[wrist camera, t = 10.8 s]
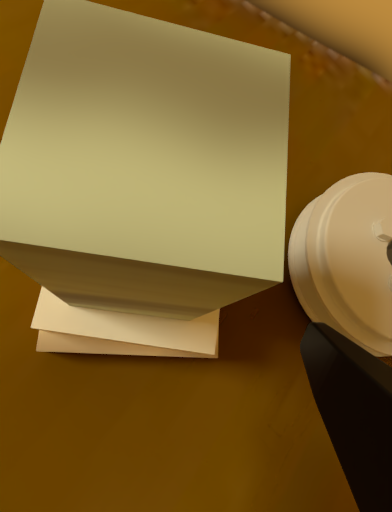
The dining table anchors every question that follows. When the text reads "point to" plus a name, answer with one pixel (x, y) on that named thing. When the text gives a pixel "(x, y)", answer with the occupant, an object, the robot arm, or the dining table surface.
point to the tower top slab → (127, 326)
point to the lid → (347, 260)
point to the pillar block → (145, 164)
